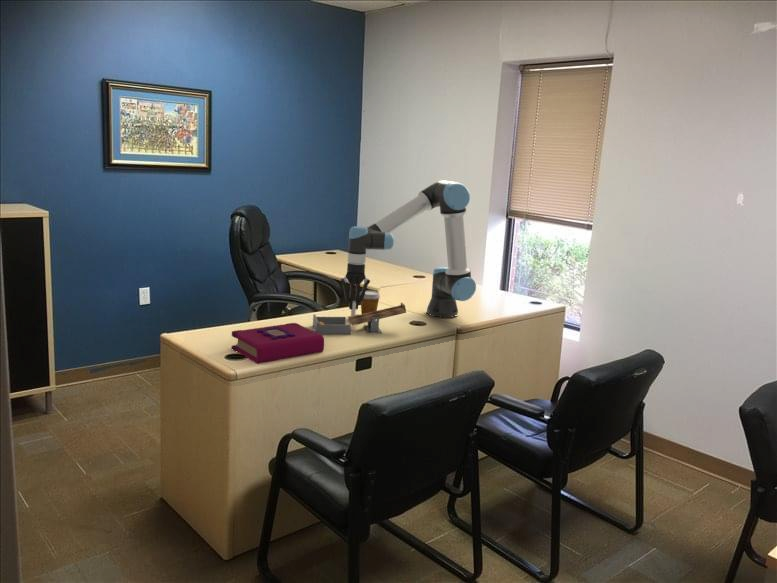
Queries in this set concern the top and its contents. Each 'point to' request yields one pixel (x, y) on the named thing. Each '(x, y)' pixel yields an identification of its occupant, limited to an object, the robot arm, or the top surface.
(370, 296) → the disposable coffee cup
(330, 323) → the tray
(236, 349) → the book
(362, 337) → the top surface
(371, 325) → the fulcrum
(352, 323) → the lever
